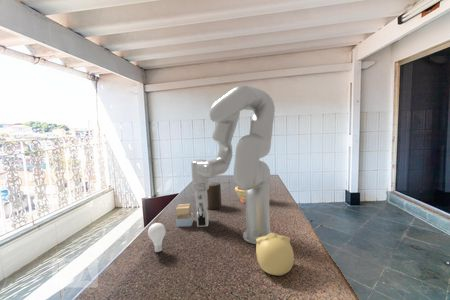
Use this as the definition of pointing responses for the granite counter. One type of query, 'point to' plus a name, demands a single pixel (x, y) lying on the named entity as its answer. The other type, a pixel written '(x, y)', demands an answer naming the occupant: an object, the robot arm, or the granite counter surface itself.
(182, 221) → the tower base
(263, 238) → the pale yellow rounded piece
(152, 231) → the lightbulb
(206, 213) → the white block
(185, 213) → the tower mid
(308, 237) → the granite counter surface
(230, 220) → the granite counter surface
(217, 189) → the pillar candle
